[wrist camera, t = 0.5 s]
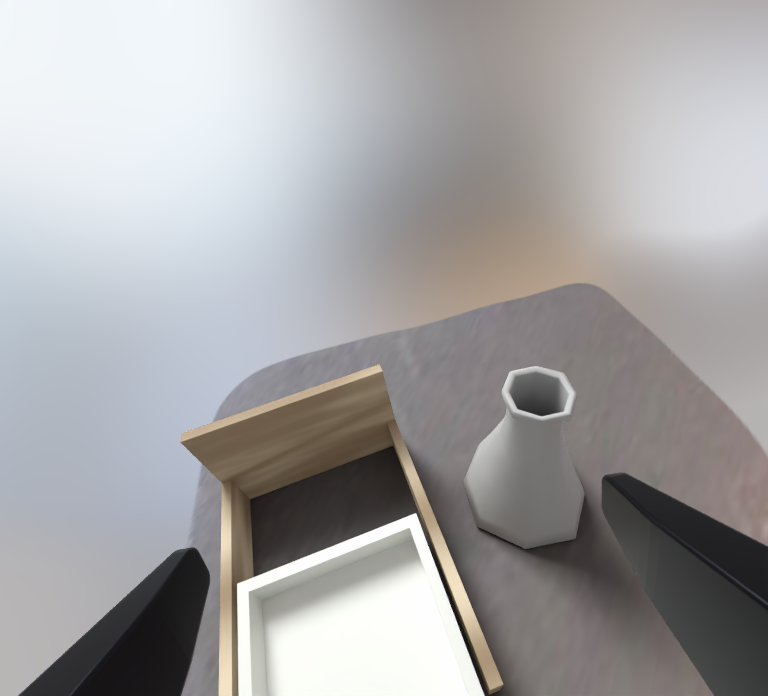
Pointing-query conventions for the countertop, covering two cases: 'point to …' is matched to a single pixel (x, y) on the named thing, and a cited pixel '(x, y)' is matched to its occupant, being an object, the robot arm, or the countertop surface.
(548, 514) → the flask
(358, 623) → the tray
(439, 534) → the dock
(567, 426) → the countertop surface
